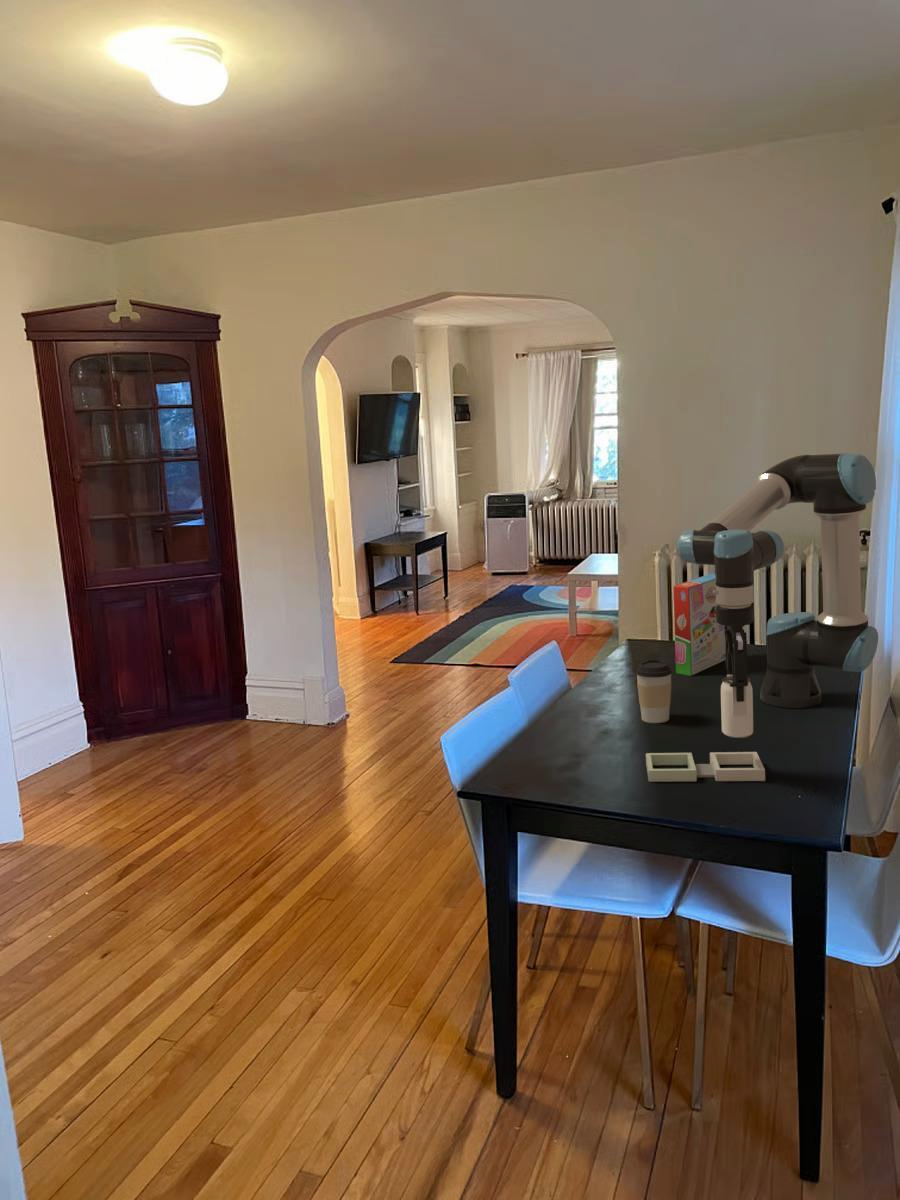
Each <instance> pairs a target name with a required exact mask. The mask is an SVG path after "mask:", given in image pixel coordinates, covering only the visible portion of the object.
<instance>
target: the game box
mask: <svg viewBox="0 0 900 1200" xmlns="http://www.w3.org/2000/svg"><path fill="white" fill-rule="evenodd" d="M715 582H716V577H715V573H708V574H706V575H702V576H700V577H697V578H694V579H690V580H687V581H684V582H682V583H679V584H675V585H673V589H672V590H673V614H674V615H673V617H674V619H673V621H674V651H675V653H674V654H675V655H674V656H675V674H676V675H677V674H679V675H683V676H689V677H692V676H694V675H696V674H698V673H700V672H703V671H705V670H707V669H709V668H712V667H714V666H716V665H718V664H720V663H722V662H724V661H726V658H725V635H724V631H725V629H724V627H725V626H724V625H720V624H718V623H717V621H716V607H717V605H719V604H717V603H716V594H713V590H717V588H716V584H715Z"/></svg>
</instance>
